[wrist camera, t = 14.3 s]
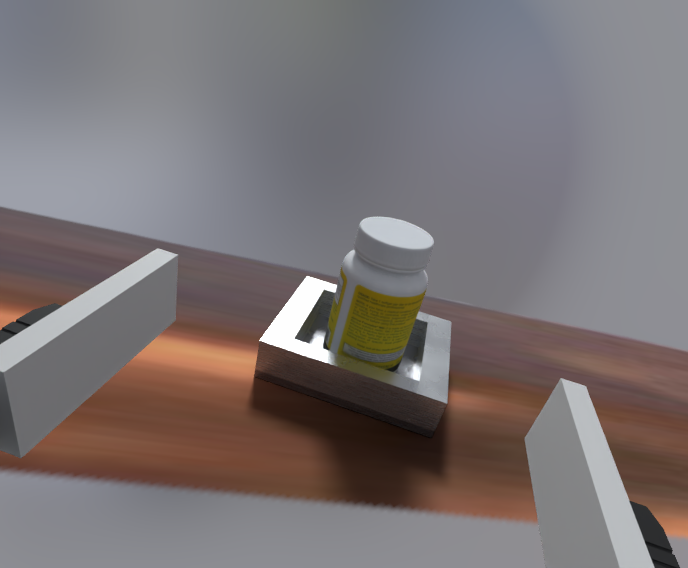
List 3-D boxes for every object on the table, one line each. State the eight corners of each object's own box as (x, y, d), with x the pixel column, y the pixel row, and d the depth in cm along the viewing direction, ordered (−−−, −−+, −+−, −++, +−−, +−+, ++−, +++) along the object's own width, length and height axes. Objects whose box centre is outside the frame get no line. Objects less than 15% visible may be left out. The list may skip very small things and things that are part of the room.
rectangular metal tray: (254, 376, 24) (259, 340, 23) (300, 306, 31) (307, 276, 30) (431, 438, 23) (447, 403, 22) (439, 351, 30) (451, 321, 29)
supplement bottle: (413, 373, 27) (461, 248, 23) (352, 395, 24) (394, 258, 20) (365, 327, 30) (400, 211, 26) (306, 342, 27) (334, 214, 23)
